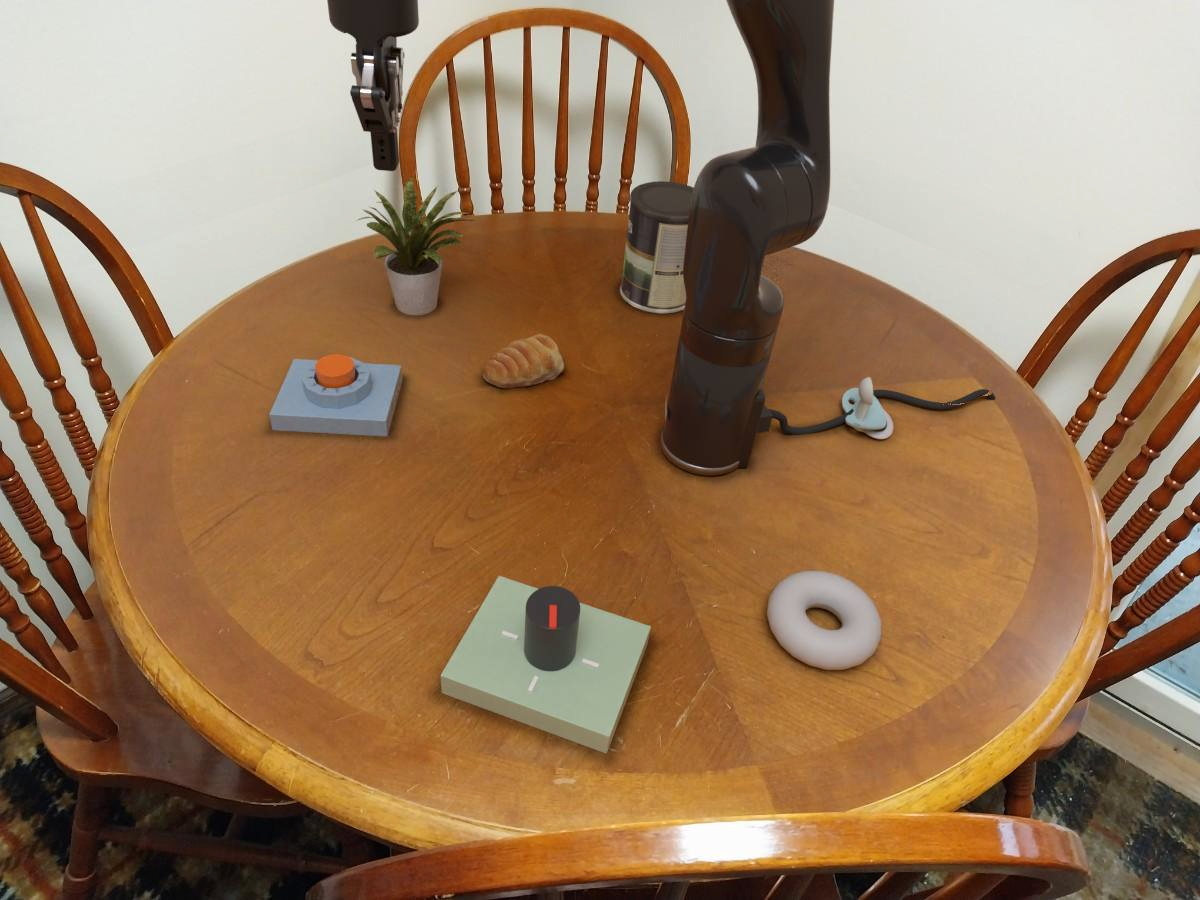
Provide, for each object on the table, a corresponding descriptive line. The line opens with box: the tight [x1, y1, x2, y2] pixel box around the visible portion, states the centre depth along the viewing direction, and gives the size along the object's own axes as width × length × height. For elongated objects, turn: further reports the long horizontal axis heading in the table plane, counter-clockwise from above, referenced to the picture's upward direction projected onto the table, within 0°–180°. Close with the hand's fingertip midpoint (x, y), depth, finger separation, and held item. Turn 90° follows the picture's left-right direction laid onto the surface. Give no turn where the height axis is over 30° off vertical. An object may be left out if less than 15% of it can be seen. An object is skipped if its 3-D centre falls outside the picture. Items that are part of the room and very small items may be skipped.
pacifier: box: [841, 376, 895, 440], centre depth 97 cm, size 7×6×6 cm
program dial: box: [524, 585, 581, 671], centre depth 67 cm, size 4×4×6 cm
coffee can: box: [619, 180, 694, 315], centre depth 112 cm, size 10×10×14 cm
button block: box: [268, 356, 404, 437], centre depth 92 cm, size 12×10×4 cm
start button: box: [315, 353, 356, 389], centre depth 90 cm, size 4×4×2 cm
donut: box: [766, 570, 882, 671], centre depth 74 cm, size 10×3×10 cm
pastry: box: [482, 333, 565, 389], centre depth 99 cm, size 9×7×4 cm
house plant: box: [355, 175, 476, 316], centre depth 103 cm, size 14×14×16 cm
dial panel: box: [440, 575, 652, 755], centre depth 69 cm, size 14×11×3 cm
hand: (386, 167), depth 82 cm, fingers closed
